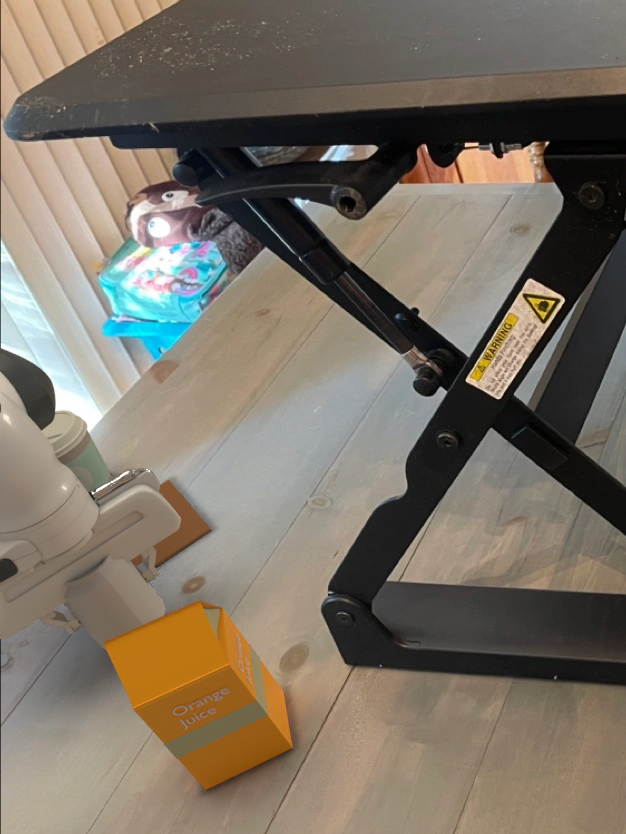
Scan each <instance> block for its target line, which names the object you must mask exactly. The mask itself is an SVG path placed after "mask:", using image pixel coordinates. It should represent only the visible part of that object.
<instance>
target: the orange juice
mask: <svg viewBox="0 0 626 834" xmlns="http://www.w3.org/2000/svg"><path fill="white" fill-rule="evenodd" d="M103 643H104V645H105V648H106V652H107V654H108V656H109V658H110V660H111V663H112V665H113V667H114V669H115V671H116V673H117V676H118V677H119V680H120V682H121V684H122V686H123V688H124V691H125V692H126V695H127V696H128V697H127V698H128V699H129V701H130V703H131V705H132V710H133V711H134V712H135V713H136V714H137V715H138V717H139V718H140V719H141V720H142V721H143V722H144V723H145V724H146V726H147V727H148V728H149V729H150V730H151V732H153V733H154V734H155V735H156V736H157V738H158V739H159V740H160V741H161V742H162V744H163V746H164V747H165V748H166V749H167V750H168V751H169V752H170V753H171V755H173V757H174V758H175V759H177V760H178V761H179V762H180V763H181V764H182V766H183V767H184V768H185V769H186V770H187V771H188V772H189V773H190V774H191V776H192V777H193V778H194V779H195V780H196V781H197V782H198V783H199V784H200V785H201V786H202V788H203V789H204V790H205V791H207V790H209V789H212V788H213V787H216V786H217V785H219V784H221V783H223V782H226V781H227V780H229V779H232V778H234V777H236V776H238V775H240V774H242V773H244V772H246V771H248V770H251V769H253V768H255V767H256V766H258V765H261V764H263V763H264V762H267V761H269V760H271V759H273V758H275V757H277V756H279V755H281V754H283V753H285V752H288V751H290V750H292V749H293V747H294V746H293V741H292V736H291V729H290V728H291V727H290V722H289V716H288V709H287V704H286V697H285V691H284V690H283V689H282V687H281V686H280V685H279V683H278V682H277V681H276V679H275V678H274V676H273V675H272V673H271V672H270V671H269V669H268V668H267V666H266V665H265V664H264V663H263V661H262V660H261V657H260V656H259V655H258V654H257V652H256V651H255V649H254V648H253V646H252V645H251V644H250V643H249V642H248V641H247V639H246V637H245V636H244V635H243V634H242V632H241V631H240V629H239V628H238V627H237V625H236V624H235V623H234V621H233V620H232V619H231V617H230V616H229V614H228V613H227V611H226V610H225V609H224V607H221V606H218V605H214V604H212V603H209V602H206V601H204V600H203V601H202V600H196V601H194V602H192V603H190V604H187V605H185V606H183V607H181V608H178V609H176V610H174V611H171V612H169V613H167V614H164V616H162V617H160V618H158V619H155V620H153V621H151V622H149V623H146V624H144V625H142V626H140V627H137V628H135V629H133V630H130V631H128V632H126V633H124V634H121V635H119V636H117V637H115V638H112V639H110V640H108V641H106V642H103Z"/></svg>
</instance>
